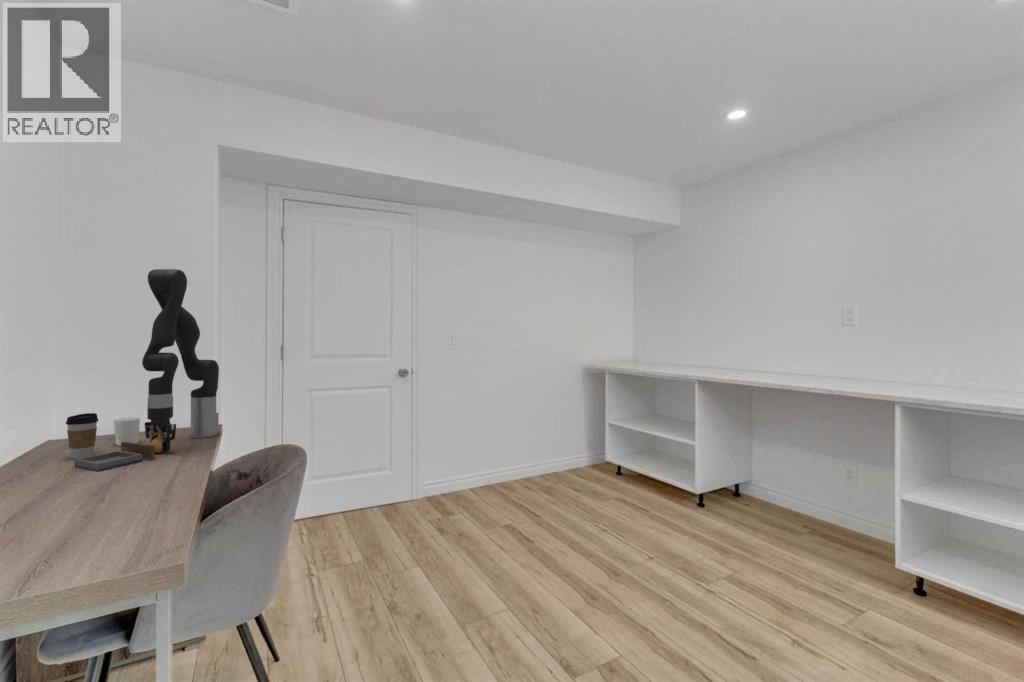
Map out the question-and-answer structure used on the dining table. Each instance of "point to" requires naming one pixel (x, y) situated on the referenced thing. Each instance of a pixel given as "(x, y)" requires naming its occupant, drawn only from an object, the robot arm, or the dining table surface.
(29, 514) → the dining table surface
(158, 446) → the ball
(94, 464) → the tray
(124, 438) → the white cup
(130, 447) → the fence
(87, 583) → the dining table surface
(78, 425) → the coffee cup
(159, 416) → the robot arm
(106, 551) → the dining table surface
